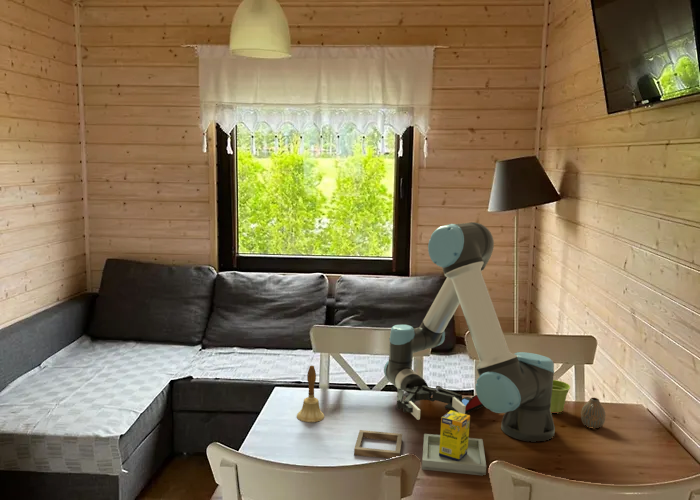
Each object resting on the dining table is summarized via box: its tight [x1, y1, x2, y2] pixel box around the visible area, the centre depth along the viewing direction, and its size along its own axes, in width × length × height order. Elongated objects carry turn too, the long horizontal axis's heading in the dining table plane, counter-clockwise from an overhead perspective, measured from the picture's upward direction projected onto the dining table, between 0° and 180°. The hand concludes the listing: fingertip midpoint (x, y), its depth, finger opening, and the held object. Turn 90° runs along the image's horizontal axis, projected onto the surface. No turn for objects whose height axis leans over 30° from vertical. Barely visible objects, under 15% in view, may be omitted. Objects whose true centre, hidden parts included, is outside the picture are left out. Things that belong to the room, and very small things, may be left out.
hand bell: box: [296, 365, 325, 423], centre depth 198 cm, size 8×8×16 cm
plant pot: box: [550, 379, 571, 412], centre depth 211 cm, size 9×9×9 cm
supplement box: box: [439, 410, 471, 462], centre depth 176 cm, size 6×6×11 cm
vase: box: [580, 397, 606, 429], centre depth 200 cm, size 7×7×9 cm
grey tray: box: [421, 433, 487, 476], centre depth 177 cm, size 16×16×2 cm
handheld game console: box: [444, 394, 485, 415], centre depth 210 cm, size 12×11×7 cm
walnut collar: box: [353, 429, 403, 460], centre depth 181 cm, size 12×12×2 cm
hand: (441, 412), depth 183 cm, fingers open, 13 cm apart
